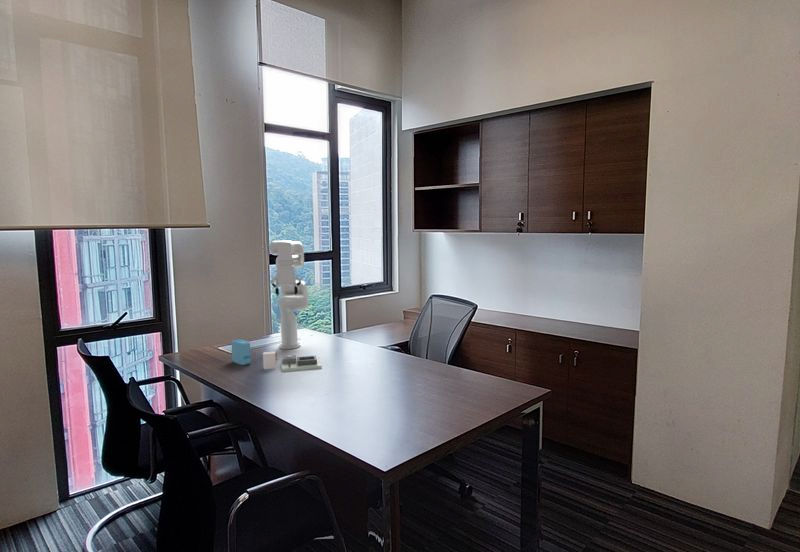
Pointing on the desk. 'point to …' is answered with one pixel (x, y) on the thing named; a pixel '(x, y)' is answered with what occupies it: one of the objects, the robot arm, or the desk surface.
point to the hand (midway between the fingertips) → (286, 294)
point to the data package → (241, 352)
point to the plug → (269, 360)
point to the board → (300, 363)
